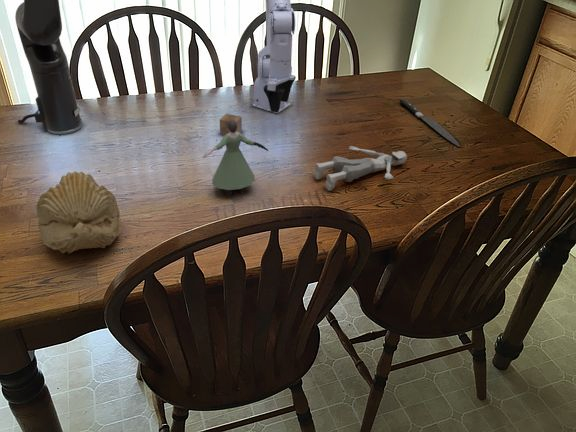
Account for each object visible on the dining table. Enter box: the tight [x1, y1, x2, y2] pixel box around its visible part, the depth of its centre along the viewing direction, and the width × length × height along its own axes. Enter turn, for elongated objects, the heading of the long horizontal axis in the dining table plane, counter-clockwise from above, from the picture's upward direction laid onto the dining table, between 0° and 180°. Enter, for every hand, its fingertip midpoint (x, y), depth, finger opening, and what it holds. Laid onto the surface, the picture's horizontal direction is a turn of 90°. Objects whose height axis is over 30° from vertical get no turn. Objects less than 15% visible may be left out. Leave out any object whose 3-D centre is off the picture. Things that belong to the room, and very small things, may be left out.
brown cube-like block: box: [219, 113, 243, 137], centre depth 141 cm, size 5×4×5 cm
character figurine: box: [202, 120, 270, 196], centre depth 113 cm, size 16×8×18 cm, turn 114°
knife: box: [398, 98, 461, 147], centre depth 152 cm, size 32×4×1 cm, turn 20°
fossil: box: [36, 170, 122, 254], centre depth 97 cm, size 15×17×15 cm
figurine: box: [313, 145, 408, 192], centre depth 125 cm, size 18×5×25 cm
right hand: (279, 106), depth 141 cm, fingers open, 7 cm apart
